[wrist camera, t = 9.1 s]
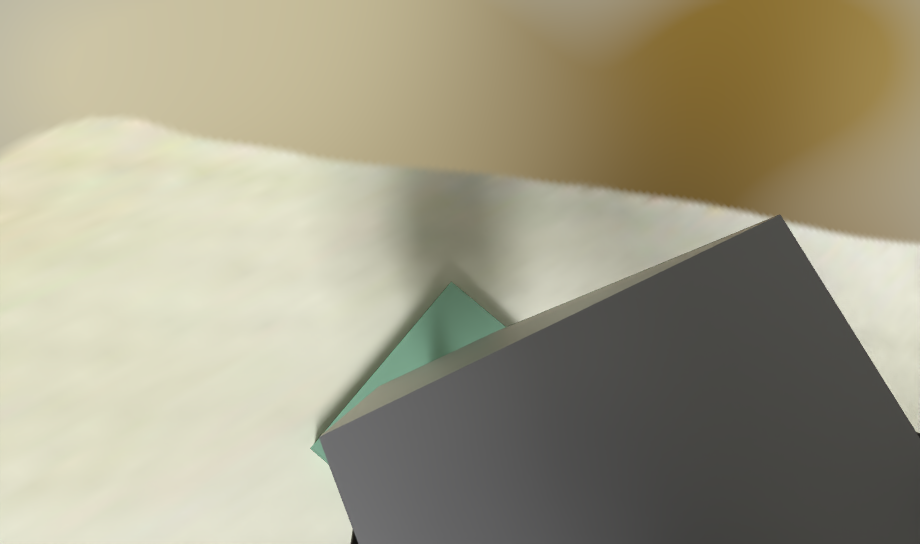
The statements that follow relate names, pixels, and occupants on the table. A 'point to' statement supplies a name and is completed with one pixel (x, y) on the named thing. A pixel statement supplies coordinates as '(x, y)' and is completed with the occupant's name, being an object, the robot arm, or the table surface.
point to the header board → (429, 342)
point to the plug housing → (645, 420)
